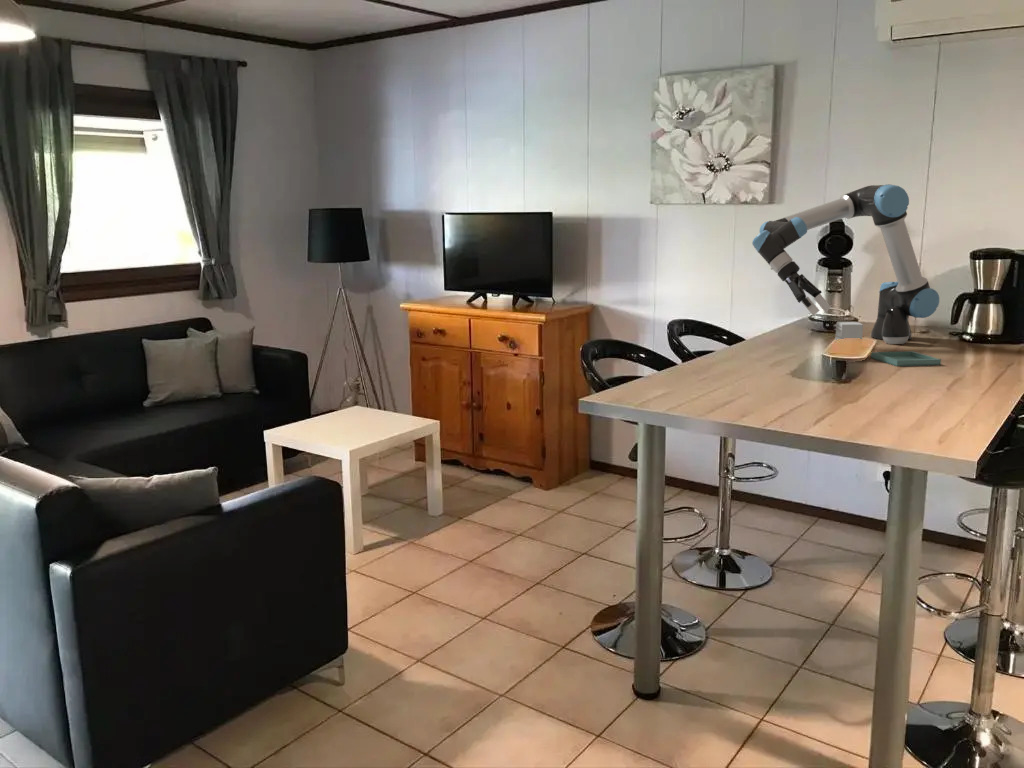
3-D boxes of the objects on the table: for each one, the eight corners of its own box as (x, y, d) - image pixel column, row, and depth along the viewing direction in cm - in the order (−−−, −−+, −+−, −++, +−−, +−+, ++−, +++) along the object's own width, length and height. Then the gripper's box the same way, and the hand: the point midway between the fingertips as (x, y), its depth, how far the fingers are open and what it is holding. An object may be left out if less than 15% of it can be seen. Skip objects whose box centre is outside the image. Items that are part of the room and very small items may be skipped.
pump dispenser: (875, 344, 331) (875, 306, 329) (894, 341, 336) (894, 303, 333) (896, 347, 322) (896, 308, 319) (915, 343, 326) (916, 305, 323)
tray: (870, 357, 298) (871, 352, 298) (912, 356, 300) (912, 351, 300) (896, 366, 283) (897, 360, 282) (940, 365, 285) (941, 359, 284)
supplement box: (854, 355, 302) (857, 321, 300) (860, 359, 295) (863, 324, 292) (833, 355, 303) (836, 320, 300) (839, 359, 296) (842, 323, 293)
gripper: (789, 272, 319) (825, 314, 313) (764, 275, 300) (802, 321, 294) (804, 258, 315) (841, 301, 309) (780, 261, 295) (819, 307, 290)
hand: (822, 311), depth 302 cm, fingers open, 13 cm apart
